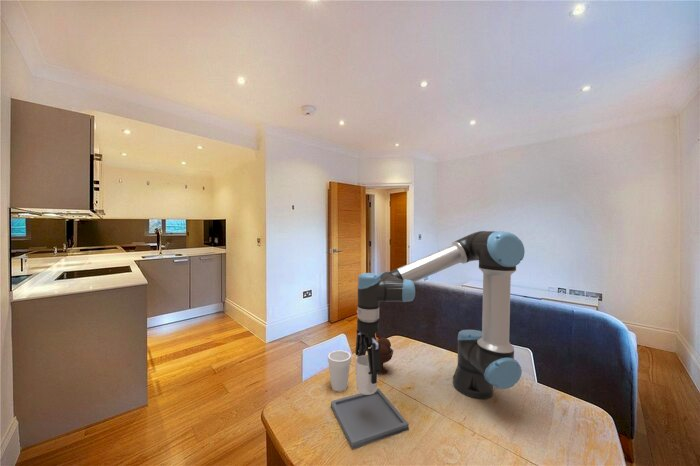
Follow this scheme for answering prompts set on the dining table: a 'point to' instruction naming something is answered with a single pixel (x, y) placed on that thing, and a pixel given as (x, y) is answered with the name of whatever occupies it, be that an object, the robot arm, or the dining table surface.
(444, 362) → the dining table surface
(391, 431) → the tray
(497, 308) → the robot arm
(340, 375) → the foam cup
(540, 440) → the dining table surface
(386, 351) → the ice cream bowl
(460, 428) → the dining table surface
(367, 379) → the white cup
